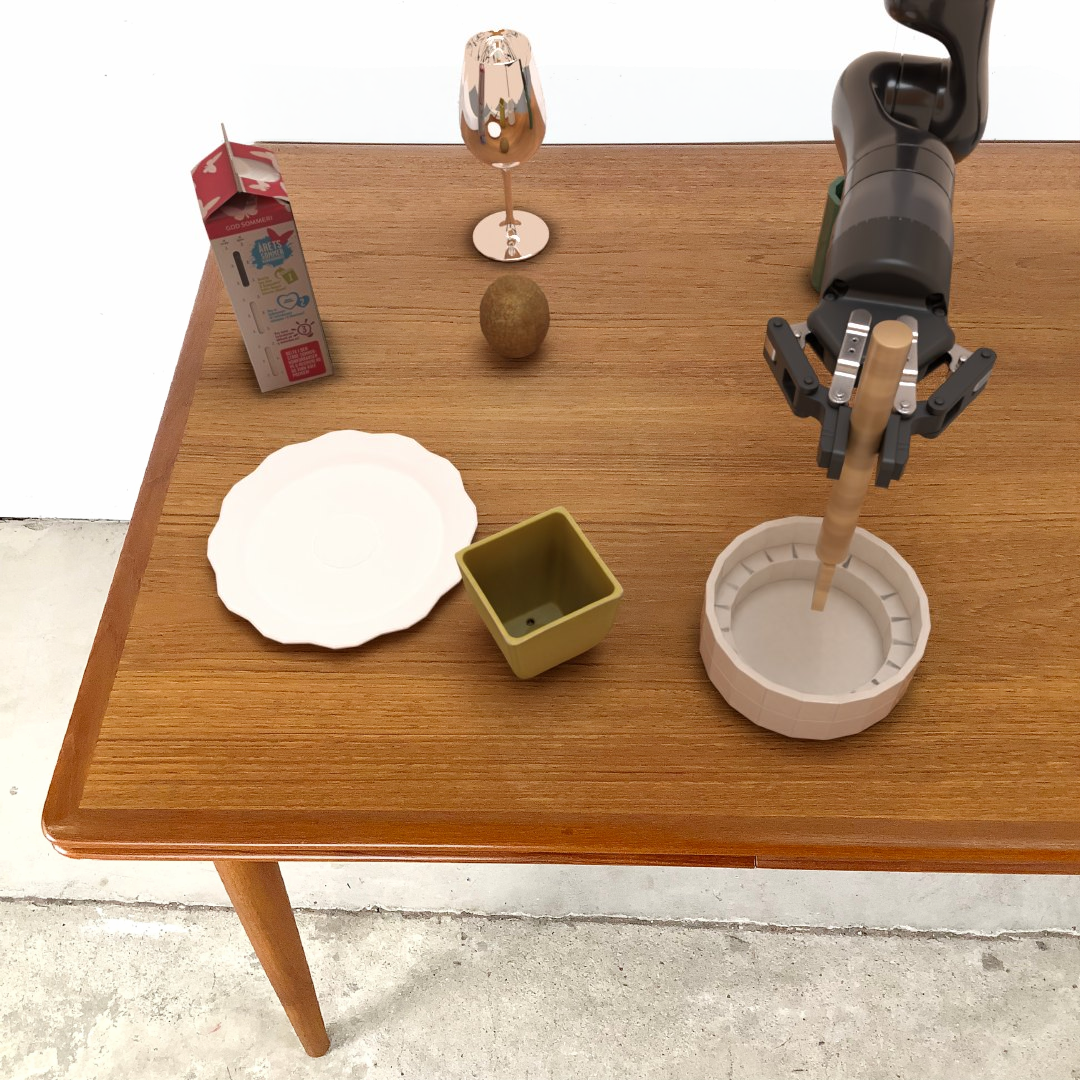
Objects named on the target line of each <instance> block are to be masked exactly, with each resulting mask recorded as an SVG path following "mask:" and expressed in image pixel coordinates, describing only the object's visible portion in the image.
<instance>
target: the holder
mask: <svg viewBox="0 0 1080 1080" xmlns="http://www.w3.org/2000/svg"><path fill="white" fill-rule="evenodd" d="M844 181H845V175H844V174H842V175H840V176H837V177H836V178H834V180H832V181H831V182H830V183H829V184H828V188H827V194H826V198H825V203H824V209H823V214H822V217H821V218H822V219H821V223H820V228H819V233H818V238H817V242H816V243H817V244H816V247H815V252H814V257H813V261H812V266H811V274H810V285H811V287H813V289H814V291H816V292H817V293H818V294H820V292H821V287H822V281H823V276H824V270H825V265H826V253H827V250H828V248H829V242H830V237H831V233H832V229H833V225H834V223H835V220H836V218H837V215H838V213H839V210H840V204H841V198H842V192H843V187H844Z"/></svg>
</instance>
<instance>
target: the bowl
mask: <svg viewBox="0 0 1080 1080" xmlns="http://www.w3.org/2000/svg"><path fill="white" fill-rule="evenodd" d="M823 518H824V516H822V517H821V516H809V515H808V516H806V515H793V516H788V517H783V518H778V519H772V520H768V521H763V522H762V523H759V524H758V525H756V526H754V527H752V528H750V529H748V530H746V531H744V532H743V533H740V534H738V535H737V536H736V537H735V538H734V539H733V540H732V541H731V542H730V543H729V544H728V545H727V546H726V547H725V548H724V549H723V550H722V552H720V553H719V555H718V556H716V559H715V561H714V563H713V566H712V567H711V571H710V573H709V575H708V578H707V580H706V583H705V589H704V594H703V601H702V609H701V615H700V621H699V622H700V623H699V653H700V655H701V659H702V662H703V665H704V668H705V671H706V673H707V676H708V679H709V680H710V681H711V683H712V684H713V686H714V687H715V688H716V690H717V691H718V692H719V693H720V695H721V696H722V697H723V699H724V700H725V701H726V703H727V704H728V705H729V706H730V707H732V708H733V709H734V710H735V711H737V712H738V713H739V714H741V715H743V717H745V718H747V719H748V720H749V721H751V722H752V723H753V724H755V725H757V726H759V727H762V728H764V729H767V730H770V731H772V732H775V733H778V734H781V735H784V736H786V737H789V738H795V739H807V740H808V739H809V740H820V741H827V740H833V739H838V738H842V737H846V736H851V735H855V734H859V733H861V732H863V731H864V730H866V729H868V728H869V727H871V726H873V725H874V724H876V723H878V722H880V721H881V720H883V719H884V718H886V717H888V716H889V714H890V713H891V712H892V710H893V709H894V708H895V706H896V705H898V703H899V702H900V700H901V699H902V698H903V696H905V693H906V692H907V690H908V688H909V686H910V683H911V682H912V680H913V677H914V675H915V673H916V671H917V669H918V667H919V665H920V663H921V660H922V659H923V658H924V657H923V656H924V654H925V650H926V647H927V644H928V640H929V636H930V632H931V629H932V625H931V615H930V606H929V598H928V595H927V594H926V591H925V589H924V587H923V585H922V583H921V581H920V579H919V577H918V575H917V573H916V571H915V569H914V568H913V567H912V566H911V564H910V563H908V562H907V561H906V560H905V558H904V557H903V556H902V555H900V553H899V552H898V551H897V550H896V549H895V548H894V547H893V546H892V545H891V544H889V543H888V542H886V541H885V540H883V539H881V538H879V537H878V536H876V535H874V534H873V533H871V532H870V531H868V530H866V529H865V528H862V527H860V526H858V525H856V529H855V532H854V535H853V538H852V542H851V545H850V548H849V552H848V555H847V558H846V559H845V560H844V561H843V562H842V563H840V564H836V568H835V572H834V576H833V579H832V582H831V586H830V589H829V593H828V596H827V599H826V603H825V606H824V610H823V612H821V611H816V610H811V605H812V598H813V592H814V585H815V578H816V575H817V571H818V567H819V564H820V559H819V558H818V557H817V555H816V551H815V549H816V545H817V541H818V537H819V533H820V529H821V526H822V522H823Z"/></svg>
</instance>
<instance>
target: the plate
mask: <svg viewBox="0 0 1080 1080" xmlns="http://www.w3.org/2000/svg"><path fill="white" fill-rule="evenodd" d="M219 512H220V513H219V517H218V518H219V519H218V520H217V522H216V524H215V525H214V527H213V529H212V531H211V533H210V535H209V537H208V539H207V551H206V552H207V553H206V556H207V559H208V561H209V563H210V565H211V567H212V569H213V571H214V573H215V581H216V589H217V590H216V591H217V595H218V597H219V598H220V600H221V601H222V603H223V604H224V606H225V607H226V608H227V610H228V611H229V612H231V613H232V614H235V615H237V616H239V617H241V618H243V619H245V620H247V621H248V622H249V623H251V624H252V626H253V627H254V628H255V629H256V630H257V631H258V632H259V633H260V634H261V635H262V636H263V637H264V638H266V639H270V640H272V641H274V642H277V643H281V644H283V645H296V644H297V645H298V644H299V645H300V644H301V645H302V644H303V645H304V644H308V645H309V644H310V645H314V646H319V647H323V648H328V649H331V650H341V649H346V648H348V649H349V648H356V647H360V646H361V645H364V644H365V643H367V642H369V641H371V640H374V639H375V638H378V637H380V636H382V635H387V634H391V633H395V632H399V631H403V630H407V629H410V628H411V627H412V626H414V625H416V624H417V623H419V622H420V621H422V620H424V619H425V618H427V617H428V615H429V614H430V613H431V611H432V609H433V608H434V607H435V605H436V604H437V603H438V602H439V600H440V599H441V598H442V597H443V596H444V595H446V594H447V593H448V592H449V591H451V590H452V589H453V588H454V587H456V586H457V585H458V584H459V583H460V582H461V580H463V579H462V576H461V573H460V570H459V567H458V565H457V562H456V559H455V553H456V552H458V551H460V550H461V549H463V548H465V547H467V546H469V545H471V544H472V541H473V538H474V536H475V533H476V531H477V529H478V525H479V523H478V514H477V506H476V505H475V504H474V502H473V500H472V499H471V498H470V496H469V494H468V493H467V492H466V490H465V486H464V484H463V480H462V476H461V472H460V471H459V470H458V468H456V467H455V466H454V465H453V463H452V462H451V461H450V460H449V459H447V458H444V457H442V456H440V455H438V454H435V453H433V452H432V451H429V450H428V449H427V448H425V447H424V446H423V445H421V444H420V443H419V442H418V441H416V439H414V438H412V437H409V436H405V435H402V434H399V433H396V432H394V433H393V432H389V433H388V432H387V433H385V432H384V433H371V432H365V431H360V430H354V429H344V430H335V431H329V432H327V433H325V434H323V435H320V436H318V437H315V438H313V439H311V440H308V441H303V442H298V443H294V444H289V445H284V446H283V447H282V448H280V449H278V450H276V451H274V452H272V453H270V454H268V455H267V456H266V457H265V458H264V460H263V461H262V462H261V463H260V464H259V465H258V466H257V468H256V469H254V471H252V472H251V473H249V474H248V475H247V476H244V477H243V478H242V479H241V480H239V481H238V482H236V483H234V484H233V486H232V487H231V489H230V490H229V491H228V492H227V494H226V496H224V498H223V499H222V503H221V508H220V511H219Z"/></svg>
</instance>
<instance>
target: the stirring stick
mask: <svg viewBox="0 0 1080 1080" xmlns="http://www.w3.org/2000/svg"><path fill="white" fill-rule="evenodd" d="M913 338H914V336H913V332H912V330H911V329H910V327H909V326H907V325H906V324H904V323H902V322H899V321H895V320H887V321H882V322H880V323H878V324H877V325H876V326H875V327H874V329H873V331H872V335H871V339H870V343H869V346H868V350H867V354H866V358H865V362H864V366H863V369H862V373H861V377H860V381H859V385H858V388H856V393H855V396H854V400H853V404H852V406H851V407H852V411H851V415H850V427H849V434H848V441H847V448H846V454H845V460H844V464H843V468H842V471H841V475H840V479H839V480H834V479H832V484H831V488H830V491H829V495H828V500H827V503H826V507H825V511H824V514H823V517H824V518H823V522H822V526H821V529H820V533H819V537H818V541H817V545H816V549H815V551H816V555H817V557H818V558H819V559H820V564H819V567H818V571H817V575H816V578H815V585H814V592H813V598H812V605H811V610H816V611H821V612H823V610H824V606H825V603H826V599H827V596H828V593H829V589H830V586H831V582H832V579H833V576H834V572H835V568H836V564H840V563H842V562H843V561H844V560H845V559H846V558H847V555H848V552H849V548H850V545H851V542H852V538H853V535H854V532H855V529H856V526H858V523H859V518H860V515H861V512H862V509H863V505H864V502H865V499H866V496H867V492H868V489H869V486H870V483H871V479H872V476H873V472H874V469H875V466H876V464H877V459H878V452H879V449H880V446H881V442H882V439H883V436H884V432H885V429H886V426H887V424H888V420H889V417H890V414H891V411H892V407H893V404H894V401H895V397H896V394H897V391H898V388H899V384H900V381H901V378H902V374H903V371H904V368H905V365H906V361H907V358H908V355H909V351H910V348H911V345H912V342H913Z"/></svg>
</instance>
